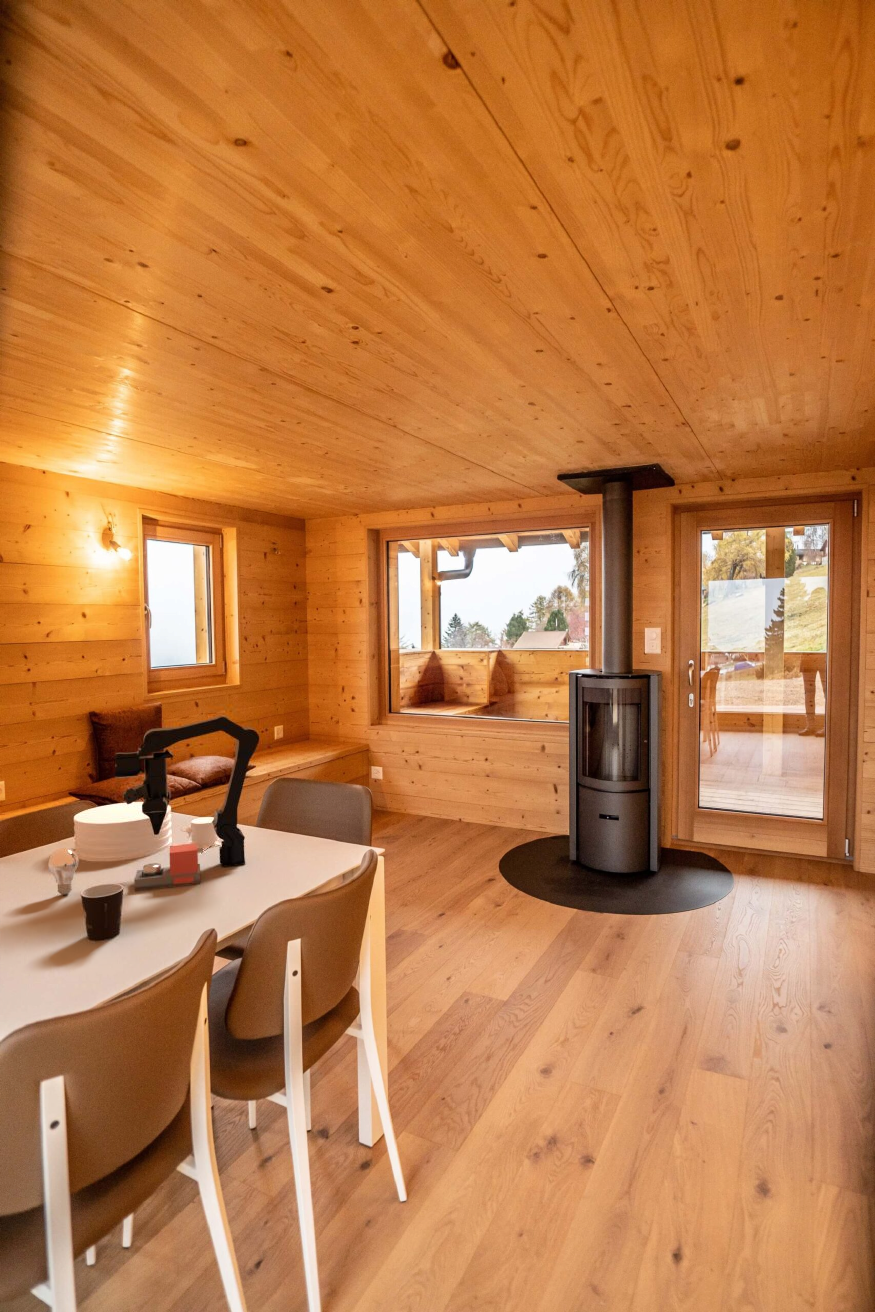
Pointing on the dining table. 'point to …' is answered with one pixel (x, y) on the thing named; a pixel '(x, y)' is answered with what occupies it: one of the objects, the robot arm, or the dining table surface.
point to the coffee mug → (102, 911)
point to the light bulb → (64, 868)
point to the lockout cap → (183, 859)
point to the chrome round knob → (151, 869)
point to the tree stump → (202, 832)
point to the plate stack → (119, 833)
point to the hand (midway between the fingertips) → (157, 830)
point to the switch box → (165, 880)
